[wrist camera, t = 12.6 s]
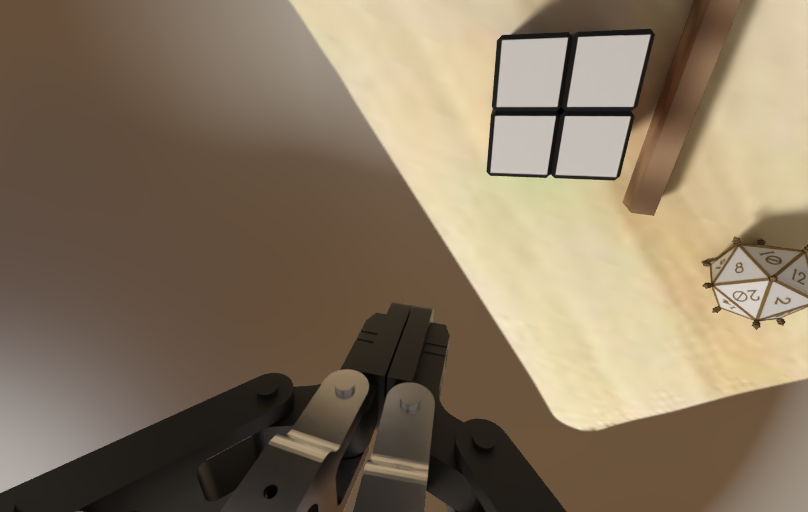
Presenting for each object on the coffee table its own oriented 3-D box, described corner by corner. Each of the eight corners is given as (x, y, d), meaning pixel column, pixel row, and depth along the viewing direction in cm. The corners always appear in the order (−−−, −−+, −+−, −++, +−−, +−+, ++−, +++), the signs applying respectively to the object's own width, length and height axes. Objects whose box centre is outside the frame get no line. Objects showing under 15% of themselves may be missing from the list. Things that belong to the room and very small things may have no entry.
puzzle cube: (617, 37, 32) (658, 27, 24) (593, 154, 37) (620, 181, 28) (498, 41, 35) (496, 35, 26) (490, 151, 39) (486, 177, 30)
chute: (698, -12, 30) (717, -19, 27) (1031, -1, 26) (1090, -8, 23) (622, 202, 38) (631, 212, 36) (865, 233, 35) (895, 247, 32)
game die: (711, 262, 42) (701, 342, 39) (695, 216, 38) (683, 302, 34) (830, 261, 36) (833, 359, 32) (829, 205, 31) (832, 311, 27)
